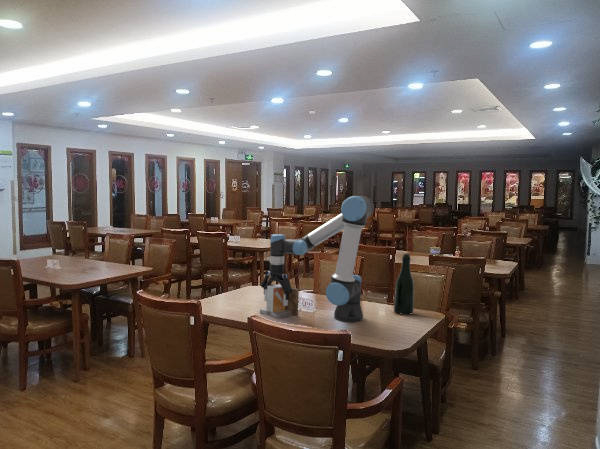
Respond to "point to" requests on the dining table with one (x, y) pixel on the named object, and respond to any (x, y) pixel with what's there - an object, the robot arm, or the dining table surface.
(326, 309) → the dining table surface
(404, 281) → the beer bottle
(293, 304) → the wall board
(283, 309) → the small box
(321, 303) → the dining table surface
